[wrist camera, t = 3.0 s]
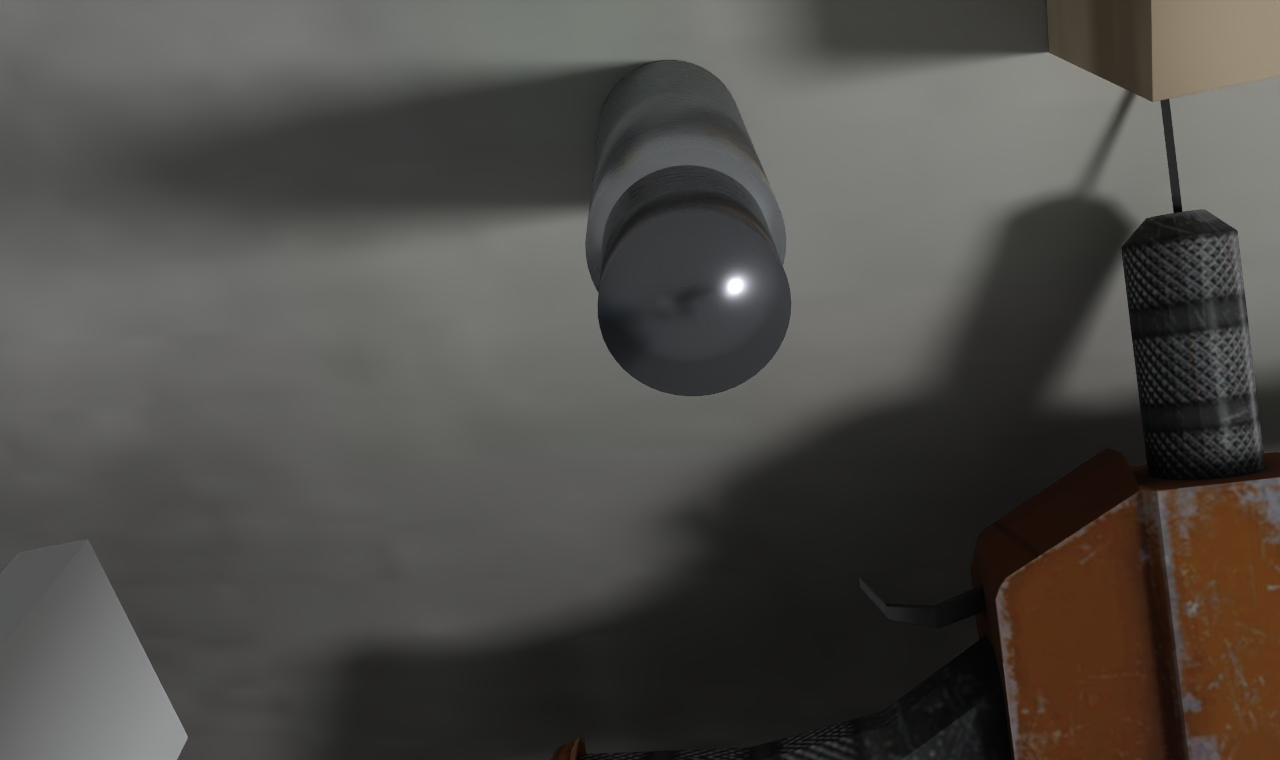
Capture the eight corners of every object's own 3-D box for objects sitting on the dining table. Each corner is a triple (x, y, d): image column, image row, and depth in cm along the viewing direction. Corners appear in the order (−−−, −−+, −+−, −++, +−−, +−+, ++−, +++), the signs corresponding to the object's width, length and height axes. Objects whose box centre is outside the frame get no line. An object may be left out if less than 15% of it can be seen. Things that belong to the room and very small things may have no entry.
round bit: (615, 214, 29) (606, 431, 18) (584, 77, 27) (553, 223, 17) (751, 186, 29) (825, 389, 18) (727, 45, 27) (791, 174, 16)
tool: (587, 1156, 28) (1927, 1104, 24) (442, 91, 27) (1799, -135, 24) (610, 1053, 32) (1764, 994, 28) (485, 121, 31) (1650, -67, 28)
